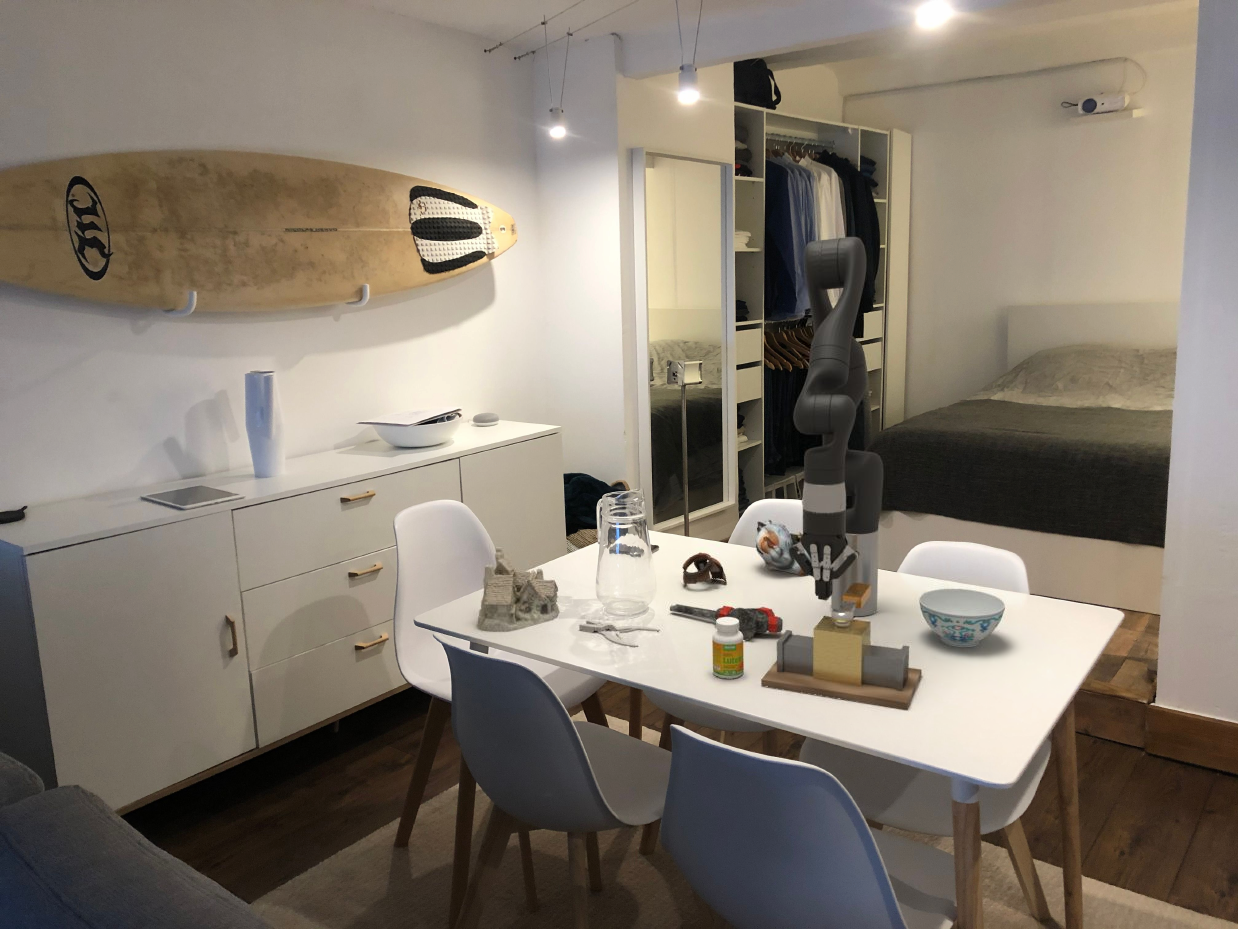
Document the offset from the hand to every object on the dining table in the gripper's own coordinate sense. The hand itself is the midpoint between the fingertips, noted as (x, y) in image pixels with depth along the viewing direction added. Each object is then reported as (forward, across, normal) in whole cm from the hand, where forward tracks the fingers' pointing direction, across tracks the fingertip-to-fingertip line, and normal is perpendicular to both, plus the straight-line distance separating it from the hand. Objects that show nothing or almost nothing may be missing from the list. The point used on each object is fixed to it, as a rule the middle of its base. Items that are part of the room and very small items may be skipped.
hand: (823, 598), depth 171 cm
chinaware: (+10, -21, -16) cm, 29 cm away
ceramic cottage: (+11, +62, +10) cm, 64 cm away
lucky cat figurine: (+11, +24, -44) cm, 52 cm away
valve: (+11, +22, -8) cm, 25 cm away
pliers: (+11, +40, +8) cm, 42 cm away
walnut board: (+10, -7, +11) cm, 16 cm away
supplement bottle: (+11, +12, +16) cm, 23 cm away
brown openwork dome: (+11, +37, -27) cm, 47 cm away
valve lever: (-1, -6, +4) cm, 8 cm away
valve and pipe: (+10, -7, +11) cm, 16 cm away
